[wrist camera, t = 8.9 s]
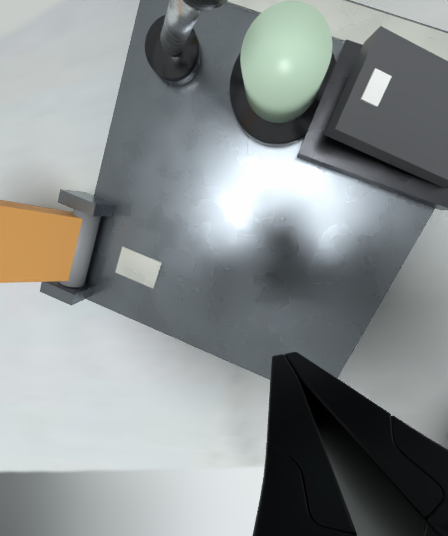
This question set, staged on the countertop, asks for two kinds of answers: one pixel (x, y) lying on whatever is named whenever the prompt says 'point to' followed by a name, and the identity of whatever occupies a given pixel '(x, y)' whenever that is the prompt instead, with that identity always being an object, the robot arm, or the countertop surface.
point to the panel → (246, 198)
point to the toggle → (183, 21)
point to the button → (285, 60)
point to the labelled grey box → (396, 107)
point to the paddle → (45, 244)
